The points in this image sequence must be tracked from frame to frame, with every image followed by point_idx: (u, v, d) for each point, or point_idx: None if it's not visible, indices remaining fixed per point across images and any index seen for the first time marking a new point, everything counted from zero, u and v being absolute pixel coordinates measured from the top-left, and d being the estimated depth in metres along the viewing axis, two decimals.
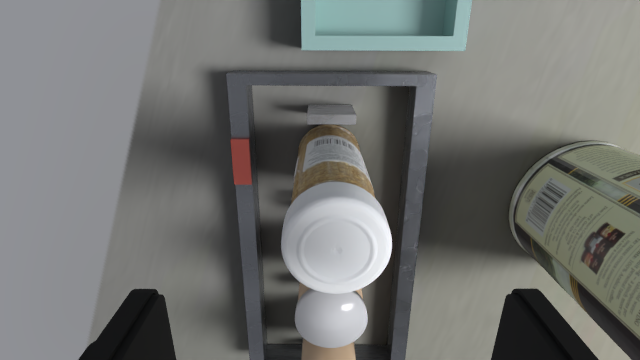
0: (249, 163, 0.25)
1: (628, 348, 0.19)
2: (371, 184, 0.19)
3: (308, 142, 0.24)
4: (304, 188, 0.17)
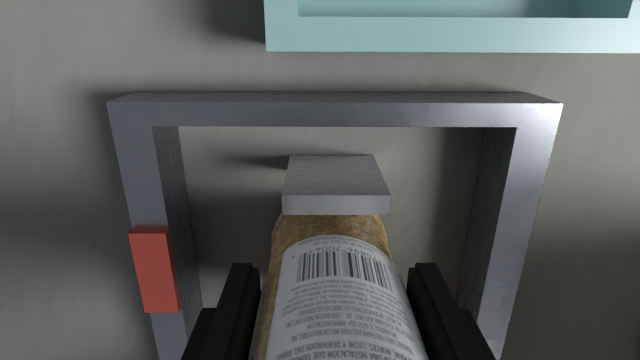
0: (171, 276, 0.13)
1: None
2: None
3: (287, 243, 0.12)
4: None
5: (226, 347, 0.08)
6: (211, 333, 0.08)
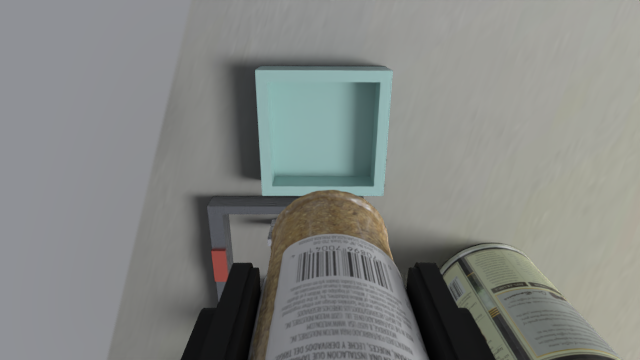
0: (226, 267, 0.33)
1: None
2: None
3: (287, 242, 0.12)
4: None
5: (226, 347, 0.08)
6: (211, 333, 0.08)
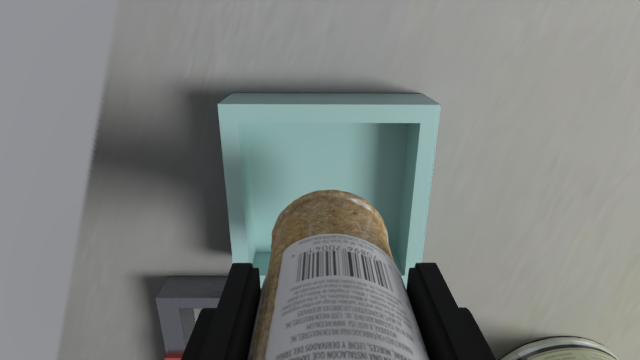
0: None
1: None
2: None
3: (287, 242, 0.12)
4: None
5: (226, 347, 0.08)
6: (211, 333, 0.08)
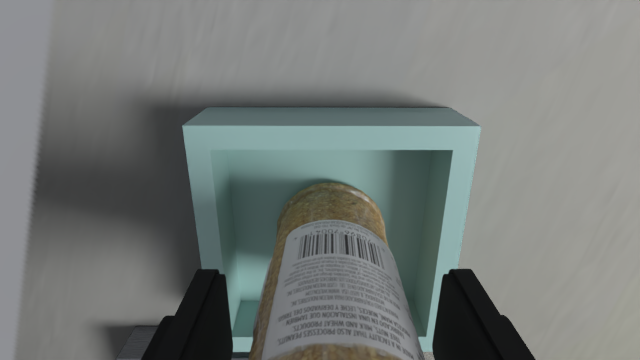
0: None
1: None
2: None
3: (290, 228, 0.13)
4: None
5: (178, 358, 0.07)
6: (164, 344, 0.08)
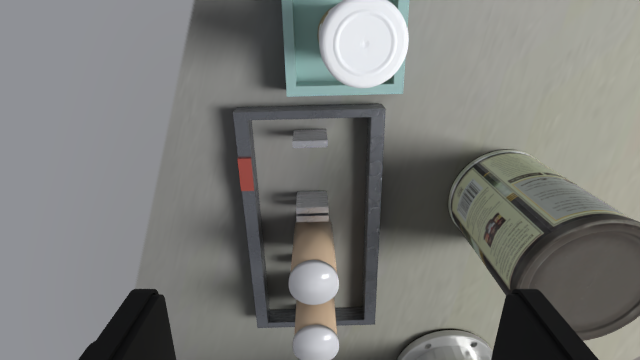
0: (251, 175, 0.34)
1: (506, 295, 0.28)
2: None
3: None
4: None
5: None
6: None
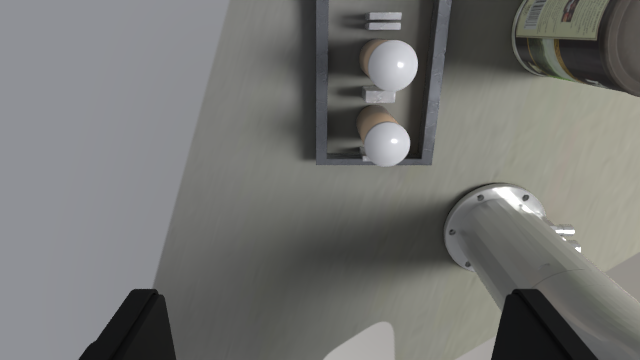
0: None
1: (589, 58, 0.29)
2: None
3: None
4: None
5: None
6: None
